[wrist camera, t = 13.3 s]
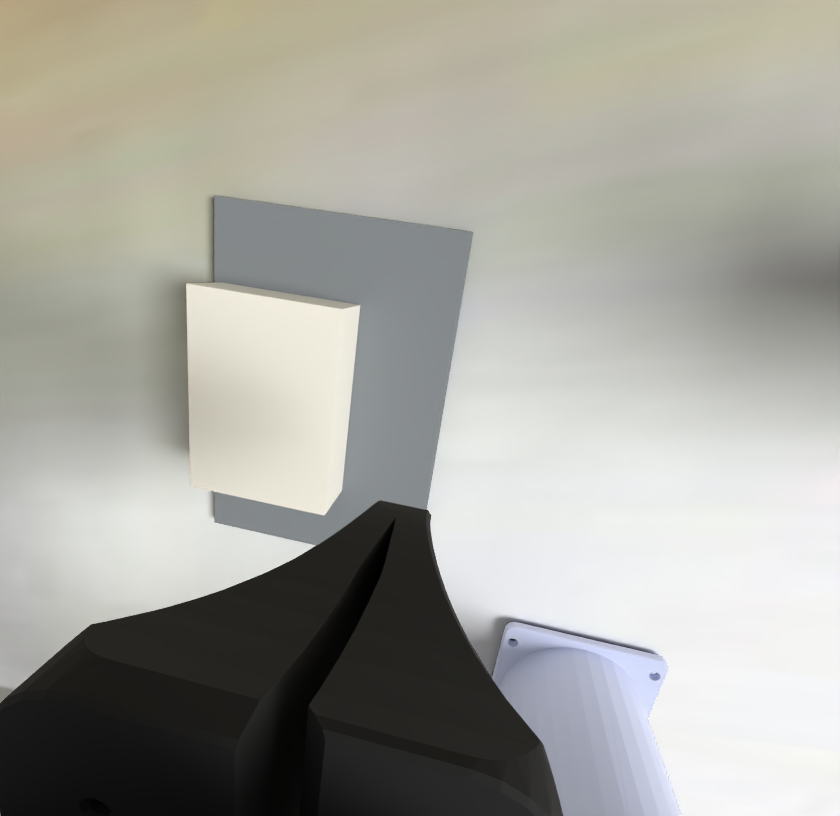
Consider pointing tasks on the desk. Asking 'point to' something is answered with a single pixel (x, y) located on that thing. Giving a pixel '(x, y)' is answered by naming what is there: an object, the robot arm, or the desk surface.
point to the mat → (376, 342)
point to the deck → (269, 393)
